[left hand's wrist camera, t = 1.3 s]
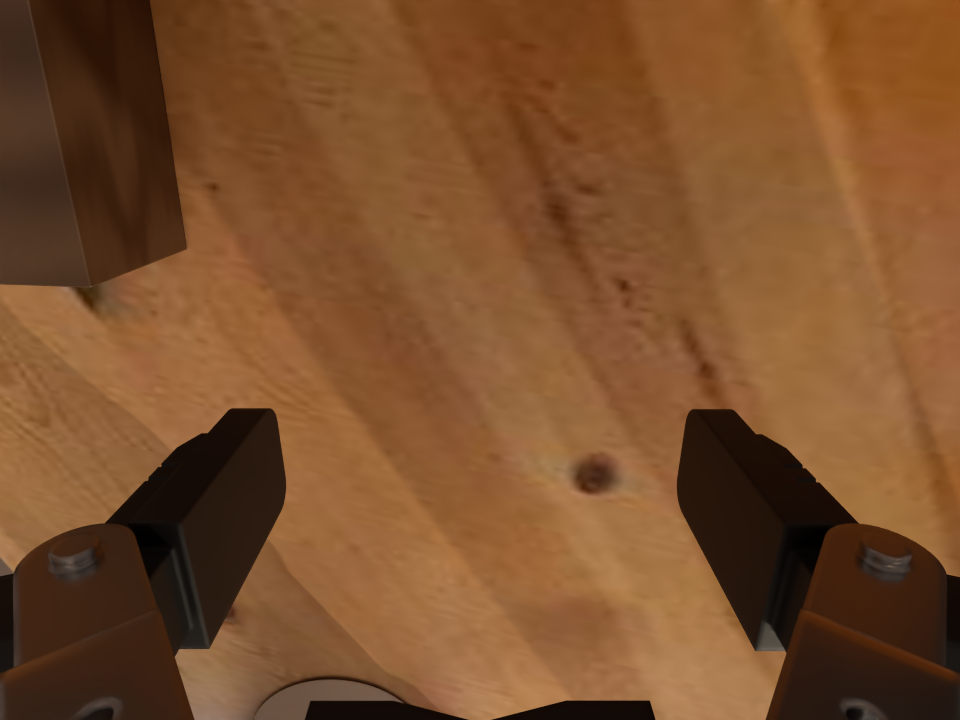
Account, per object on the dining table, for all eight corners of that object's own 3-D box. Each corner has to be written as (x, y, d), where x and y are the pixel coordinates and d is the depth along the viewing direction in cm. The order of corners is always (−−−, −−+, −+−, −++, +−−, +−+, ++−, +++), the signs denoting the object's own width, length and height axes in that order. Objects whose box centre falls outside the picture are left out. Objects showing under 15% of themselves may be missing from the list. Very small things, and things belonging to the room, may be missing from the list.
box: (-23, -242, 25) (-266, -424, 17) (114, -236, 25) (-62, -413, 17) (82, 245, 33) (-49, 283, 25) (187, 249, 33) (91, 287, 25)
